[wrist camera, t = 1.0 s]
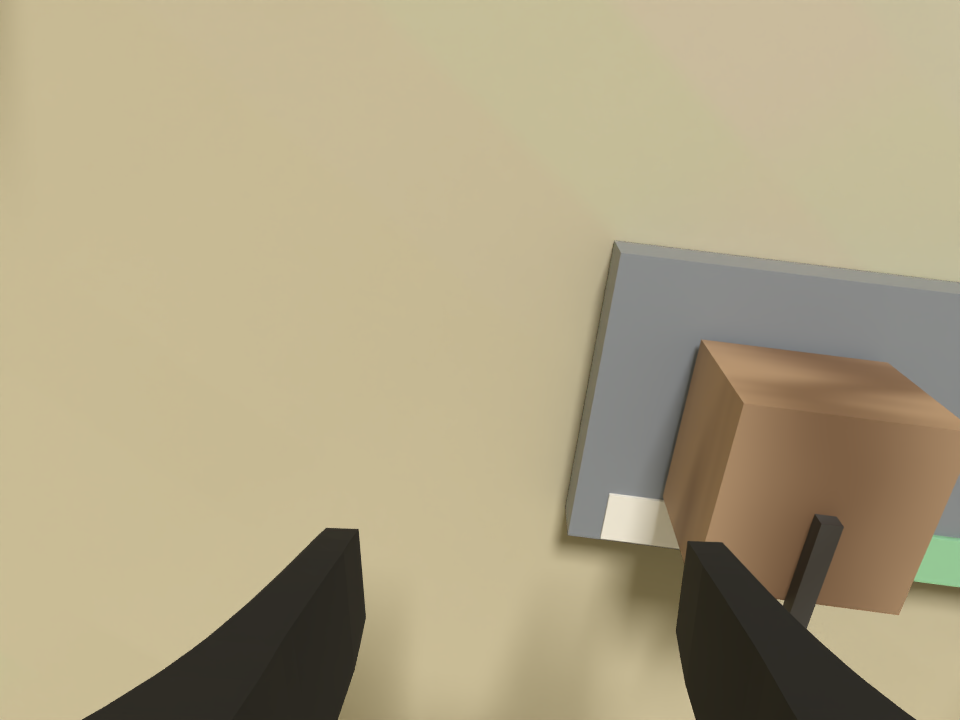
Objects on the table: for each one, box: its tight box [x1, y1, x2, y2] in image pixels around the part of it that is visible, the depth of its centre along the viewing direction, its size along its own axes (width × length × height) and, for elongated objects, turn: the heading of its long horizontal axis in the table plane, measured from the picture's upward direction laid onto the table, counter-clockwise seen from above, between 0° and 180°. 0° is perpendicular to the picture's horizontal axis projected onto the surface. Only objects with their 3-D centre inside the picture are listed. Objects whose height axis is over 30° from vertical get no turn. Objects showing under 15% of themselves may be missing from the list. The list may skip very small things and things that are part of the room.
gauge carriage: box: [663, 339, 960, 629], centre depth 18 cm, size 5×7×4 cm
